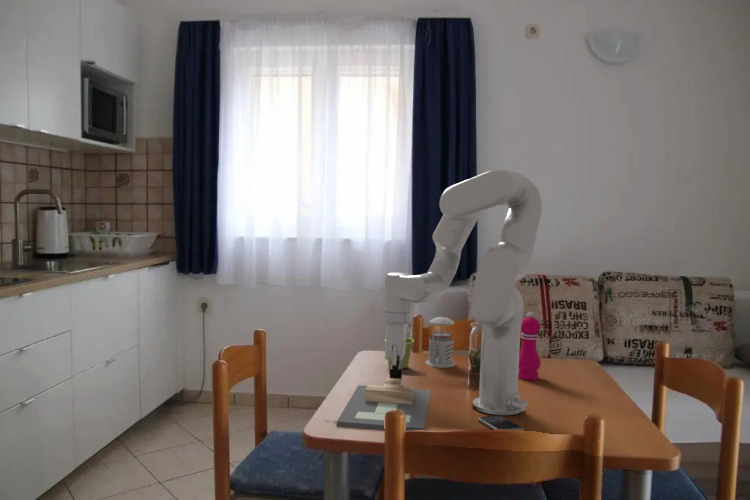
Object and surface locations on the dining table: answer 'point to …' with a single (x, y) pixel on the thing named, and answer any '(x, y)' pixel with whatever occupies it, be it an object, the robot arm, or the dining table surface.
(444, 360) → the french press
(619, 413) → the dining table surface
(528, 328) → the pepper mill
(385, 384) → the t block
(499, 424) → the cell phone
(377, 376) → the dining table surface
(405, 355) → the plant pot
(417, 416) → the mat
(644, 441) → the dining table surface
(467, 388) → the dining table surface
